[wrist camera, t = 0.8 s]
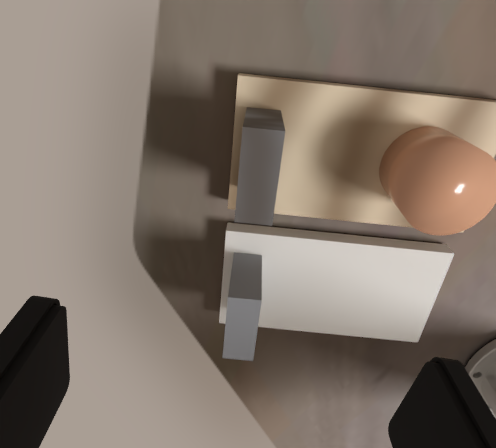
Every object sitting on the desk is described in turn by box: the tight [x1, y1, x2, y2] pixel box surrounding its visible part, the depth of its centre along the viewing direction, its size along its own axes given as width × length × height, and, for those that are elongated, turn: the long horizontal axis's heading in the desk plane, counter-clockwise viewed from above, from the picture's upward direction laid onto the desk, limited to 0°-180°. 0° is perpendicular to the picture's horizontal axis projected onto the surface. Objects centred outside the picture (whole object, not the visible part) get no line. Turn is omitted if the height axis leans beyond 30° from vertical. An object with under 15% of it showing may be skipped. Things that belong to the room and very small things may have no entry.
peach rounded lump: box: [379, 126, 496, 235], centre depth 26 cm, size 6×6×5 cm
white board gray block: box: [219, 222, 454, 361], centre depth 31 cm, size 19×10×8 cm, turn 85°
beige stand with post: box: [228, 73, 496, 233], centre depth 26 cm, size 19×10×8 cm, turn 85°
